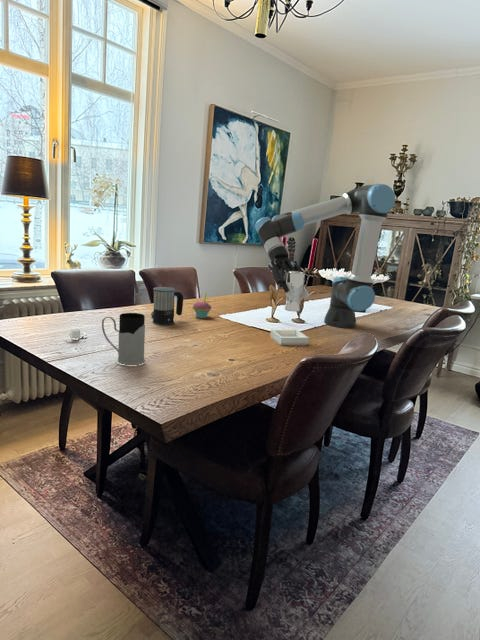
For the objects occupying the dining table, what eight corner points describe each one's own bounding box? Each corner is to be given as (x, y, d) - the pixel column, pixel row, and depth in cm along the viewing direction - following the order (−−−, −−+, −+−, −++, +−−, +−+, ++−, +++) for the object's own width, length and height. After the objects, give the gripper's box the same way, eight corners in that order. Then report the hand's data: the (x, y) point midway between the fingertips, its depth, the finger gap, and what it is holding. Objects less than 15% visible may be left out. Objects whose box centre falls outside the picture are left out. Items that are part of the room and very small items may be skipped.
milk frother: (163, 326, 181) (165, 291, 177) (136, 319, 188) (137, 285, 185) (185, 320, 192) (187, 288, 189) (158, 314, 200) (159, 282, 197)
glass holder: (138, 368, 131) (140, 320, 128) (95, 362, 134) (95, 314, 130) (149, 359, 140) (151, 314, 136) (108, 353, 142) (108, 309, 138)
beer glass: (300, 312, 167) (304, 274, 164) (282, 310, 168) (286, 272, 165) (301, 309, 174) (305, 272, 170) (284, 307, 175) (288, 270, 172)
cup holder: (296, 336, 181) (297, 329, 180) (308, 345, 170) (309, 337, 170) (270, 336, 178) (271, 329, 177) (280, 345, 167) (281, 337, 166)
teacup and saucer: (83, 336, 160) (83, 325, 159) (93, 341, 154) (93, 330, 153) (59, 339, 154) (59, 328, 153) (69, 345, 148) (69, 334, 147)
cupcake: (214, 317, 204) (215, 292, 201) (203, 320, 196) (204, 294, 194) (199, 313, 208) (201, 289, 205) (188, 316, 201) (189, 291, 198)
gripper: (289, 256, 184) (312, 302, 176) (252, 256, 173) (275, 304, 164) (299, 245, 179) (323, 291, 170) (262, 244, 167) (286, 293, 159)
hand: (299, 298), depth 167 cm, fingers closed on beer glass, 7 cm apart
